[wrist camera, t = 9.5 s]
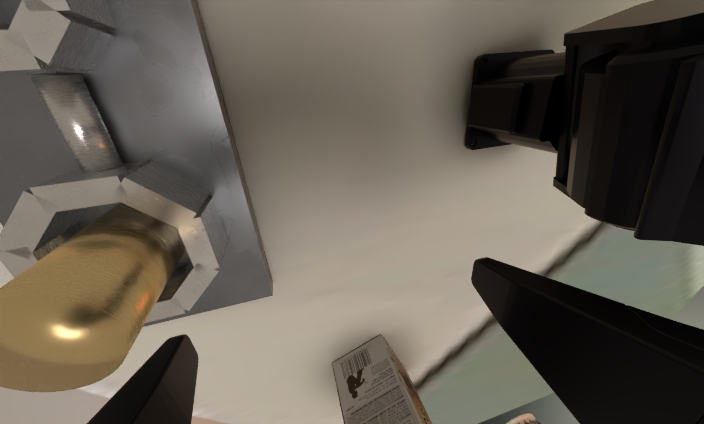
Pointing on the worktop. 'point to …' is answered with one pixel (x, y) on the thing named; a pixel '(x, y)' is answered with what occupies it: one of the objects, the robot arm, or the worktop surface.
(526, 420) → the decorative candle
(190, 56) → the manifold
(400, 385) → the coffee box
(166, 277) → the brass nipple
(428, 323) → the worktop surface
